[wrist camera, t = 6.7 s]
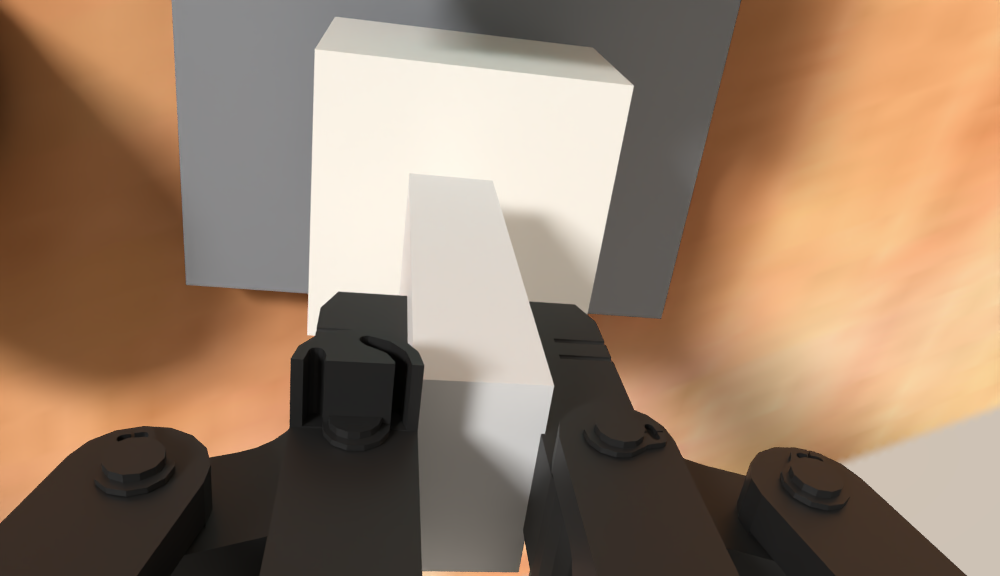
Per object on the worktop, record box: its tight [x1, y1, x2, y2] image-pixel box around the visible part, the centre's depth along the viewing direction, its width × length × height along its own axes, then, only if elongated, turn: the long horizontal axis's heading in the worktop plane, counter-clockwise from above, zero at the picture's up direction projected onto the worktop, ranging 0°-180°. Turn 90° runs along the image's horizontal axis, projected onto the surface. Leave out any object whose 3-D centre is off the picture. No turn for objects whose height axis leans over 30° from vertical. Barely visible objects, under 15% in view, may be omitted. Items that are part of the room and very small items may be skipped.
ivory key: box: [307, 17, 634, 336], centre depth 18 cm, size 6×6×4 cm
